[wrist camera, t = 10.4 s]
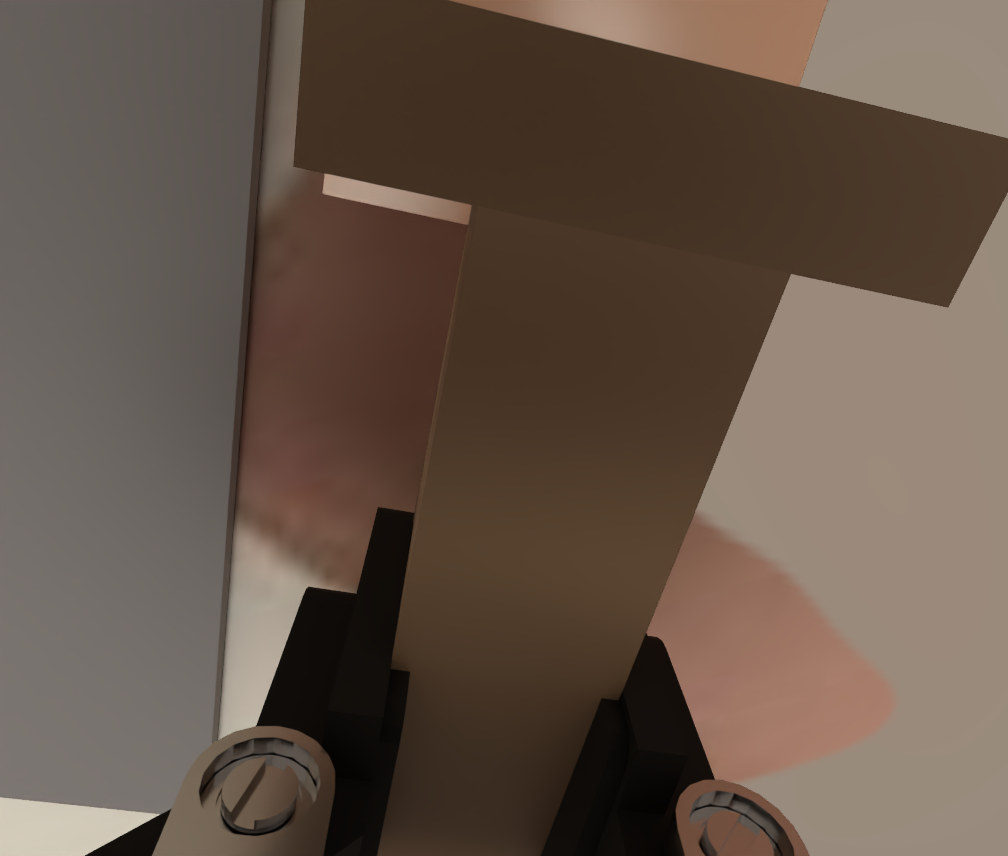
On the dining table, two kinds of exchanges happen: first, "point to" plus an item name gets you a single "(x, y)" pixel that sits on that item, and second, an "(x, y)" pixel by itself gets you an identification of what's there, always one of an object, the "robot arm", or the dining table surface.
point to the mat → (121, 383)
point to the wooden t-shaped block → (593, 346)
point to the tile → (654, 26)
